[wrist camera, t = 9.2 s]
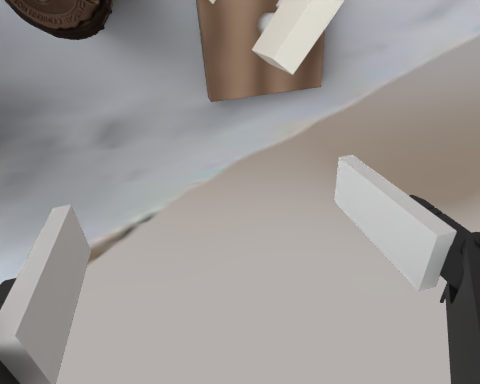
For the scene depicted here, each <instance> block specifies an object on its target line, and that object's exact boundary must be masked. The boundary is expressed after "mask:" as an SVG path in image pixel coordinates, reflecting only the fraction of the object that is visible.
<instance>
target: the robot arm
mask: <svg viewBox="0 0 480 384" xmlns="http://www.w3.org/2000/svg"><path fill="white" fill-rule="evenodd" d="M334 202H335V203H336V204H337V205H338V206H339V207H340V208H341V209H342V210H343V211H344V212H345V213H346V214H347V215H348V217H349V218H350V219H351V220H352V221H353V222H354V223H355V224H356V225H357V226H358V227H359V228H360V229H361V230H362V231H363V232H364V234H366V236H367V237H368V238H369V239H370V240H371V241H372V242H373V243H374V244H375V245H376V246H377V247H378V249H379V250H380V251H381V252H382V253H383V254H384V255H385V256H386V257H387V258H388V259H389V260H390V261H391V262H392V263H393V265H394V266H395V267H396V268H397V269H398V270H399V271H400V272H401V273H402V274H403V275H404V276H405V277H406V278H407V279H408V280H409V282H410V283H411V284H412V285H413V286H414V287H415V288H416V289H417V290H418V291H421V290H425V289H429V288H432V287H436V285H437V282H438V279H439V277H440V275H441V276H442V277H443V278H444V279H445V280H446V281H447V284H446V287H445V289H444V292H443V294H442V297H441V300H440V303H443V302H444V300H445V299H446V310H447V326H448V342H449V358H450V373H451V384H480V232H473V233H471V232H470V231H468V230H467V229H465V228H464V227H463V226H461V225H460V224H458V223H457V222H455V221H454V220H453V219H451V218H450V217H448V216H447V215H446V214H442V212H441V211H440V210H438V209H437V208H434V206H433V205H431V204H430V203H428V202H427V201H426V200H424V199H421V198H419V197H416V196H414V195H409V196H408V195H407V194H405V193H404V192H403V191H401V190H400V189H399V188H397V187H396V186H394V185H393V184H392V183H390V182H389V181H388V180H386V179H385V178H383V177H382V176H381V175H379V174H378V173H377V172H375V171H374V170H373V169H371V168H370V167H368V166H367V165H365V164H364V163H363V162H362V161H360V160H359V159H358V158H356V157H355V156H354V155H348V156H342V157H339V162H338V172H337V181H336V190H335V199H334ZM90 253H91V249H90V247H89V245H88V243H87V240H86V238H85V236H84V233H83V231H82V229H81V226H80V224H79V222H78V219H77V217H76V215H75V213H74V210H73V208H72V206H71V205H66V206H61V207H55V208H53V209H52V211H51V213H50V214H49V216H48V218H47V220H46V222H45V224H44V226H43V228H42V230H41V232H40V234H39V236H38V238H37V240H36V242H35V244H34V246H33V248H32V249H31V251H30V253H29V255H28V257H27V259H26V261H25V263H24V265H23V267H22V269H21V271H20V273H19V275H18V277H17V278H15V279H10V280H5V281H4V282H3V283H2V284H1V285H0V384H56V381H57V377H58V374H59V370H60V366H61V362H62V358H63V355H64V351H65V347H66V343H67V339H68V336H69V332H70V328H71V324H72V320H73V316H74V313H75V309H76V306H77V302H78V298H79V294H80V290H81V287H82V283H83V279H84V275H85V271H86V268H87V264H88V260H89V256H90Z"/></svg>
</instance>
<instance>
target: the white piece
mask: <svg viewBox="0 0 480 384" xmlns="http://www.w3.org/2000/svg"><path fill="white" fill-rule="evenodd" d="M344 1H345V0H279V1H278V3H277V4H276V7H277V8H278V9H277V11H276V12H275V13H264V14H262V15H261V16H260V17H259V18H258V21H257V29H258V32H259V33H260V34H261V36H260V38H259V39H258V41H257V42H256V44H255V45H254V47H253V49H252V51H254V52H255V53H256V54H257V55H259V56H260V57H261V58H262V59H264V60H265V61H266V62H268V63H269V64H271V65H273V66H275V67H277V68H279V69H282V70H284V71H286V72H288V73H290V74H292V75H293V74H294V73H295V71H296V70H297V68H298V67H299V65H300V64H301V62H302V61H303V60H304V58H305V57H306V55H307V54H308V52H309V51H310V50H311V48H312V47H313V45H314V44H315V42H316V41H317V39H318V38H319V37H320V35H321V34H322V32H323V31H324V29H325V28H326V26H327V25H328V24H329V22H330V21H331V19H332V18H333V16H334V15H335V14H336V12H337V11H338V9H339V8H340V6H341V5H342V3H343V2H344Z"/></svg>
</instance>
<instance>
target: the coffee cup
mask: <svg viewBox="0 0 480 384" xmlns="http://www.w3.org/2000/svg"><path fill="white" fill-rule="evenodd" d="M5 1H6V2H7V3H8V4H9V6H10V7H11V8H12V9H13V10H14V11H15V12H16V13H17V14H18V15H19V16H20V17H21V18H22V19H23V20H25V21H26V22H28V23H29V24H31V25H33V26H34V27H37V28H39V29H41V30H43V31H45V32H47V33H49V34H51V35H53V36H55V37H58V38H64V39H70V40H80V39H86V38H88V37H92V36H93V35H96V34H97V33H98V32H99V31H100V30H103V29H104V28H105V27H104V24H105V23H106V20H107V19H108V17H109V14H111V13H112V10H111V8H112V5H113V0H5Z"/></svg>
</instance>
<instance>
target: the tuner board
mask: <svg viewBox="0 0 480 384" xmlns="http://www.w3.org/2000/svg"><path fill="white" fill-rule="evenodd" d="M278 1H279V0H196V4H197V12H198V20H199V28H200V36H201V44H202V52H203V60H204V68H205V76H206V84H207V92H208V98H209V99H210V101H211V102H213V101H221V100H228V99H235V98H243V97H250V96H257V95H265V94H272V93H280V92H287V91H294V90H302V89H309V88H316V87H321V79H322V63H323V48H324V32H325V29H324V31H323V32H322V34H321V35H320V37H319V38H318V39H317V41H316V42H315V44H314V45H313V47H312V48H311V50H310V51H309V52H308V54H307V55H306V57H305V58H304V60H303V61H302V62H301V64H300V65H299V67H298V68H297V70H296V71H295V73H294V74H293V75H292V74H290V73H288V72H286V71H284V70H282V69H279V68H277V67H275V66H273V65H271V64H269V63H268V62H266V61H265V60H264V59H262V58H261V57H260V56H259V55H257V54H256V53H255V52H254V51H252V49H253V47H254V45H255V44H256V42H257V41H258V39H259V38H260V36H261V34H260V33H259V32H258V29H257V21H258V18H259V17H260V16H261V15H262V14H264V13H275V12H276V11H277V9H278V8H277V7H276V4H277V3H278Z"/></svg>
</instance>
